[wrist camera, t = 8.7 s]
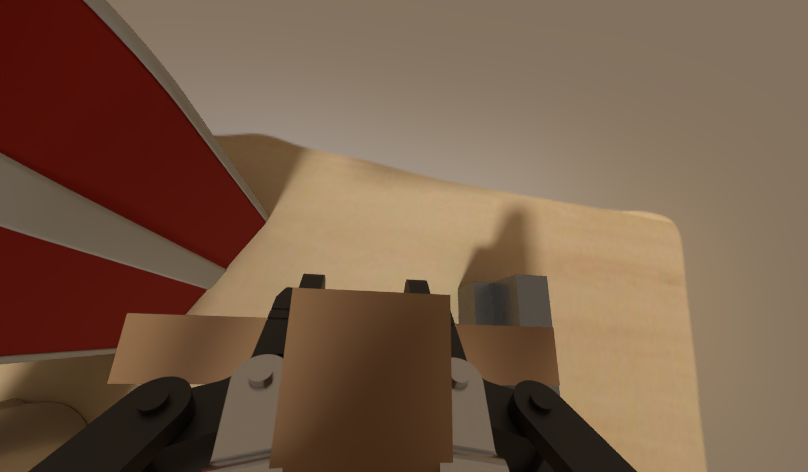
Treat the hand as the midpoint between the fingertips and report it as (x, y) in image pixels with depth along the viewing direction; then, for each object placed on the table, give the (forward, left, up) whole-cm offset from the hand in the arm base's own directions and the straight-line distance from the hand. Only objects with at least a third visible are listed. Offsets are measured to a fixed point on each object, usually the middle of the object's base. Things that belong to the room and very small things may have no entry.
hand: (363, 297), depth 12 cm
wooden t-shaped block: (+1, -2, -5) cm, 5 cm away
